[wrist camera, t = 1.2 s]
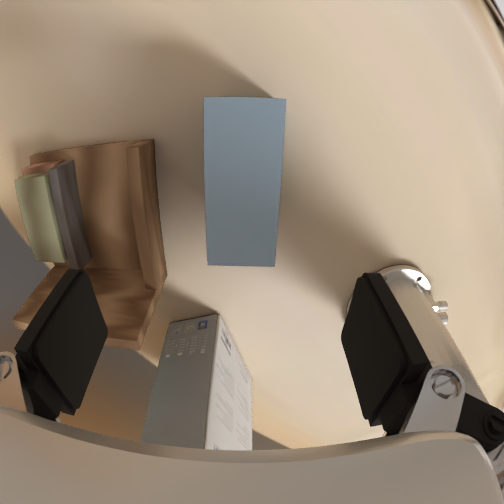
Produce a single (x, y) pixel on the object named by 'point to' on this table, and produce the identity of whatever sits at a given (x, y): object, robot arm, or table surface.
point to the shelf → (97, 230)
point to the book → (242, 178)
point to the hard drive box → (200, 390)
